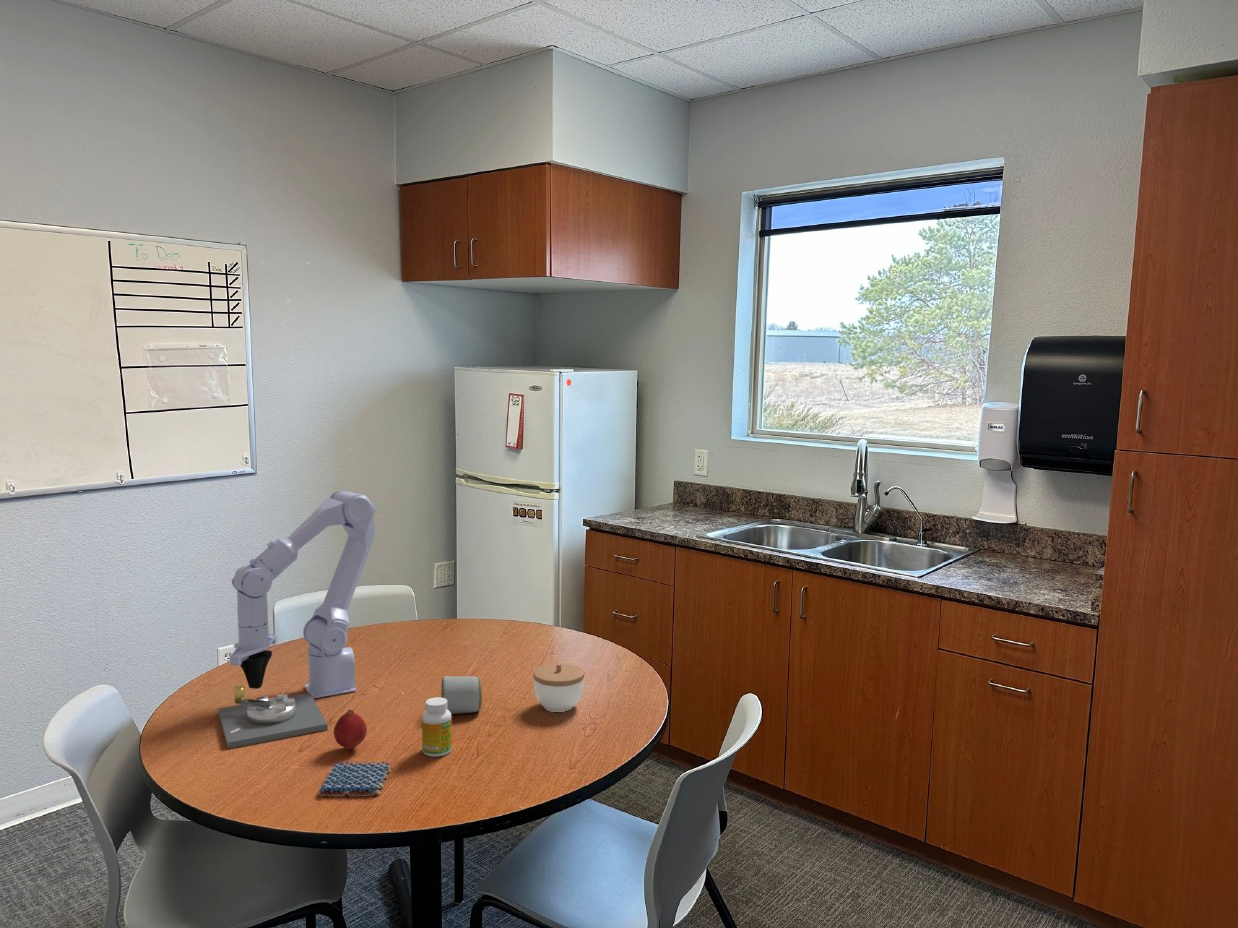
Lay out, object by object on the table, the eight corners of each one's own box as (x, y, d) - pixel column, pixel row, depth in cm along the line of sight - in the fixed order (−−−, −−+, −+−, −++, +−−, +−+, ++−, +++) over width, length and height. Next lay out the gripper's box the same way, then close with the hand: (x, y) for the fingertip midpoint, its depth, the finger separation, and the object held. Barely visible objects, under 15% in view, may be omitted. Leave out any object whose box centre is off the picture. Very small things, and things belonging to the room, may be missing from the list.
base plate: (310, 697, 187) (310, 692, 186) (327, 729, 171) (327, 723, 171) (218, 713, 178) (218, 707, 178) (227, 748, 162) (227, 742, 162)
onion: (337, 759, 159) (336, 717, 158) (332, 746, 164) (330, 705, 163) (369, 752, 161) (368, 711, 160) (363, 740, 166) (362, 700, 165)
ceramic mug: (483, 716, 178) (483, 680, 177) (442, 720, 176) (442, 683, 175) (477, 698, 188) (477, 663, 188) (439, 701, 186) (438, 666, 185)
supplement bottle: (444, 758, 159) (444, 708, 158) (417, 755, 160) (416, 705, 159) (456, 746, 165) (455, 696, 163) (429, 743, 166) (428, 694, 164)
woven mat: (393, 770, 156) (393, 759, 156) (379, 799, 145) (379, 788, 145) (334, 770, 155) (334, 759, 155) (316, 800, 145) (315, 788, 145)
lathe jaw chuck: (304, 708, 178) (303, 684, 177) (279, 726, 169) (278, 700, 168) (249, 703, 180) (248, 679, 179) (222, 720, 171) (221, 695, 171)
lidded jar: (594, 706, 184) (595, 664, 183) (557, 721, 176) (557, 677, 175) (559, 693, 191) (560, 652, 190) (522, 707, 183) (522, 664, 182)
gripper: (254, 612, 187) (256, 673, 188) (214, 633, 172) (216, 699, 174) (285, 614, 186) (287, 675, 187) (247, 635, 171) (249, 701, 173)
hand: (255, 687), depth 181 cm, fingers closed
